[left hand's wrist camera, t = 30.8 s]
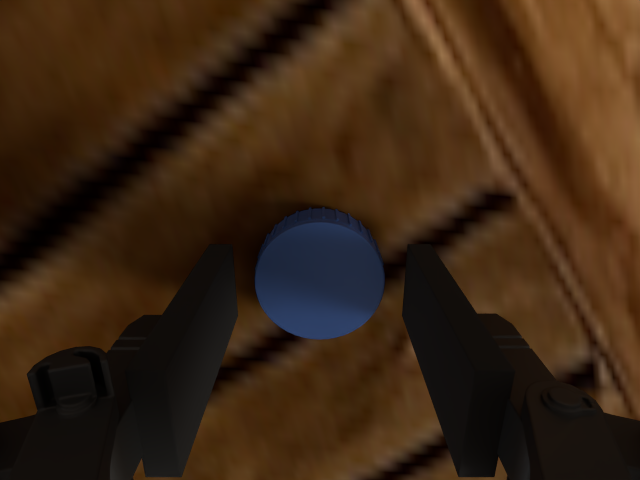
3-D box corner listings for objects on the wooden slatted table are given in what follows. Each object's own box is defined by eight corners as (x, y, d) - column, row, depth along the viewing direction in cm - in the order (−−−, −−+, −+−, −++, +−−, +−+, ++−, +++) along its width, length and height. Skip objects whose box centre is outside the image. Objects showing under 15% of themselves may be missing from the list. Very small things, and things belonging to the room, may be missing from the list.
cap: (390, 302, 16) (398, 325, 15) (278, 327, 17) (274, 352, 15) (365, 192, 15) (371, 205, 13) (243, 223, 15) (234, 239, 13)
